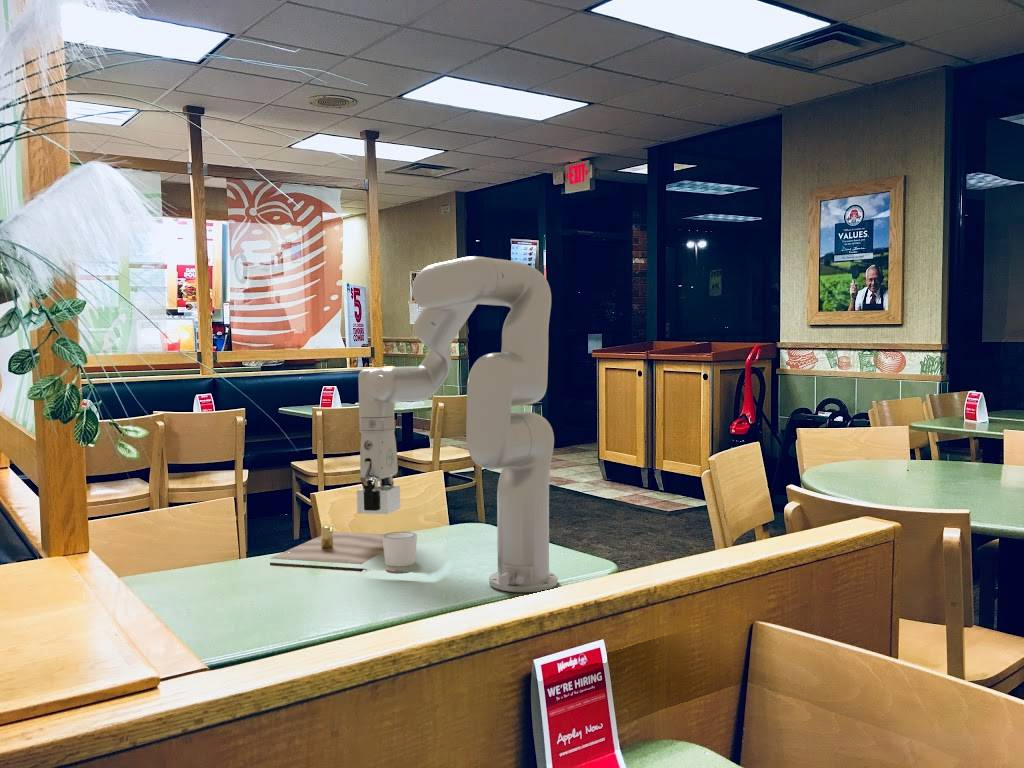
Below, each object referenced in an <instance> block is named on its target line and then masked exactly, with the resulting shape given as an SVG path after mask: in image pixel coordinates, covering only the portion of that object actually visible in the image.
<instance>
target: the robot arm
mask: <svg viewBox="0 0 1024 768" xmlns="http://www.w3.org/2000/svg"><path fill="white" fill-rule="evenodd" d="M412 297H413V299H414V300H413V301H414V302H415V303H416V304H417V305H418V306H419V307H420V308H422V310H421V311H420V313H419V315H418V316H417V318H416V319H415V321H414V323H413V327H412V328H413V332H414V334H415V336H416V338H417V339H418V340H419V341H420V342H421V343H422V344H423V345H425V346H426V347H427V348H428V351H427V354H426V355H425V357H424V358H423V360H422V361H421V363H420V364H419V365H418V366H412V365H411V366H388V367H386V366H385V367H382V368H365V369H362V370H360V372H359V373H358V379H357V380H358V381H357V382H358V413H359V414H358V415H359V416H358V417H359V418H358V419H359V433H360V434H361V437H360V448H359V450H360V451H359V452H360V453H359V454H360V457H359V458H360V459H359V463H360V464H359V466H360V467H359V468H360V469H359V470H360V473H359V479H360V482H361V485H362V488H363V492H364V510H371V511H377V510H379V491H377V486H395V485H394V482H395V481H394V477H395V475H397V474H398V469H399V468H398V465H399V464H398V453H397V452H398V451H397V441H396V435H395V432H396V429H395V427H396V425H395V403H407V402H422V401H427V400H428V399H430V398H431V397H433V395H435V394H436V393H437V391H438V390H439V388H440V387H441V386H442V384H443V383H444V381H445V380H446V378H447V377H448V375H449V374H450V370H451V366H452V348H451V344H452V343H453V341H454V339H456V337H457V335H458V334H459V332H460V331H461V330H462V328H463V327H464V324H466V322H467V320H468V319H469V317H470V315H471V314H473V311H474V310H475V309H476V307H477V305H484V306H485V305H486V306H487V305H488V306H500V307H501V306H503V307H508V308H510V310H509V312H508V313H507V314H506V315H507V316H506V318H505V320H504V322H503V326H502V331H501V351H500V352H491V353H486V354H484V355H482V356H479V358H477V360H476V361H475V362H474V363H473V365H472V367H471V368H470V370H469V374H468V378H467V382H466V383H467V386H466V422H465V423H466V424H465V425H466V427H465V429H466V431H465V435H466V446H467V451H468V455H469V456H470V458H471V459H472V461H473V462H474V463H475V464H476V465H477V467H478V466H479V467H480V468H482V469H487V470H496V469H501V471H500V475H499V478H498V482H497V493H496V495H497V499H496V502H497V503H496V507H497V509H496V510H497V511H496V512H497V513H496V518H497V520H496V521H497V522H496V523H497V528H496V529H497V543H496V544H497V572H494V573H492V574H491V575H490V576H489V578H488V579H489V581H488V582H489V585H490V586H491V587H492V588H494V589H496V590H499V591H504V592H510V593H538V592H543V591H542V590H544V591H547V589H548V590H550V589H553V588H555V587H556V586H557V584H558V576H557V575H556V574H555V573H554V572H552V571H550V474H551V466H552V465H551V464H552V459H553V453H554V446H555V435H554V431H553V427H552V426H551V423H549V421H548V420H547V419H546V418H545V417H543V416H542V415H541V414H538V413H536V412H529V411H517V412H511V411H512V407H513V406H525V405H532V404H535V403H537V402H539V401H541V400H542V399H543V398H544V397H545V395H546V394H547V393H546V392H547V389H548V375H549V374H548V373H549V371H548V370H549V368H548V367H549V327H550V326H549V324H550V318H551V317H550V316H551V309H552V292H551V288H550V285H549V281H548V280H547V278H546V277H545V276H544V275H543V273H542V272H541V271H539V270H538V269H537V268H536V267H533V266H531V265H529V264H527V263H524V262H520V261H515V260H508V259H503V258H492V257H485V256H476V255H473V256H465V257H460V258H456V259H452V260H447V261H442V262H438V263H434V264H430V265H427V266H426V267H424V268H422V269H421V270H420V272H419V273H418V274H416V277H415V278H414V280H413V285H412Z"/></svg>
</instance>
